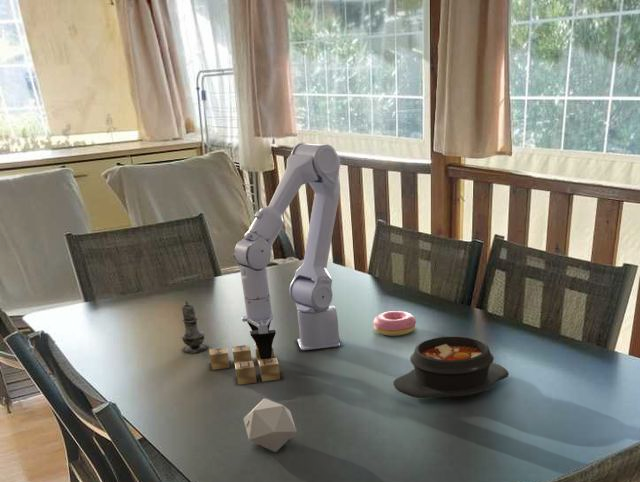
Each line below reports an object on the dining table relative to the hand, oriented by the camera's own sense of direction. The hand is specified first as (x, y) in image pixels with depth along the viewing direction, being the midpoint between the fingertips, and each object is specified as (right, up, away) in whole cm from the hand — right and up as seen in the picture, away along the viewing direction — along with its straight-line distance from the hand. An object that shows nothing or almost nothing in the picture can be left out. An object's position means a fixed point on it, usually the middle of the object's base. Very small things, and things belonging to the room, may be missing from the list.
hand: (264, 354), depth 161 cm
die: (+7, -24, -36) cm, 44 cm away
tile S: (0, -1, +1) cm, 1 cm away
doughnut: (+31, +9, +15) cm, 35 cm away
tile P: (+3, -7, -8) cm, 11 cm away
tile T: (-5, -2, 0) cm, 5 cm away
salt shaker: (-19, +3, +10) cm, 21 cm away
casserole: (+42, -10, -17) cm, 46 cm away
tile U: (-2, -8, -9) cm, 12 cm away
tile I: (-10, -3, -1) cm, 10 cm away
